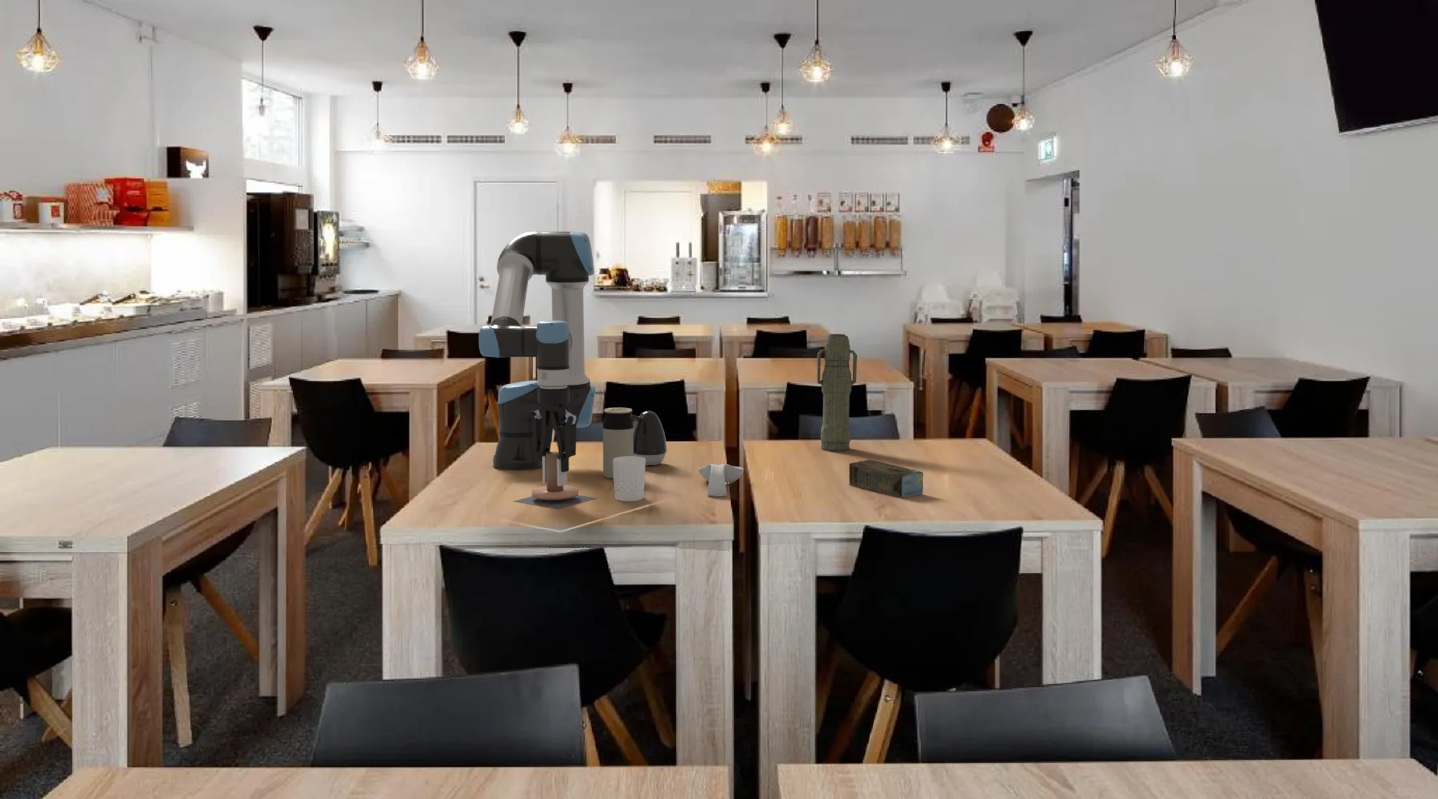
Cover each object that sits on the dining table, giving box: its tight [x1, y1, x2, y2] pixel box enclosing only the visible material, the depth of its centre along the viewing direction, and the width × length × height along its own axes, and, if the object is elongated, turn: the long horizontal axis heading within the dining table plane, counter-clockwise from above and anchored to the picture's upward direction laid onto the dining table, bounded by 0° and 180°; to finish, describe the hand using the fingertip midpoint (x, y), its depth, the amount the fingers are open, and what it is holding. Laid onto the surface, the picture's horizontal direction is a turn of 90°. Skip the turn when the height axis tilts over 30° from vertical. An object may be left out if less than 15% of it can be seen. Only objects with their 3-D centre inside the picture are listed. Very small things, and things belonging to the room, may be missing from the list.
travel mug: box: [602, 407, 634, 480], centre depth 291 cm, size 8×8×18 cm
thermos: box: [816, 333, 858, 453], centre depth 333 cm, size 9×12×35 cm
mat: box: [512, 494, 597, 510], centre depth 262 cm, size 14×14×1 cm
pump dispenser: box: [630, 410, 668, 467], centre depth 308 cm, size 10×10×15 cm
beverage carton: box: [848, 459, 924, 498], centre depth 277 cm, size 8×19×7 cm, turn 37°
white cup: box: [613, 456, 646, 502], centre depth 264 cm, size 8×8×10 cm
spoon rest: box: [698, 463, 744, 497], centre depth 280 cm, size 24×12×7 cm, turn 178°
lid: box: [531, 451, 579, 500], centre depth 261 cm, size 11×11×10 cm
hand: (555, 483), depth 262 cm, fingers closed on lid, 4 cm apart
